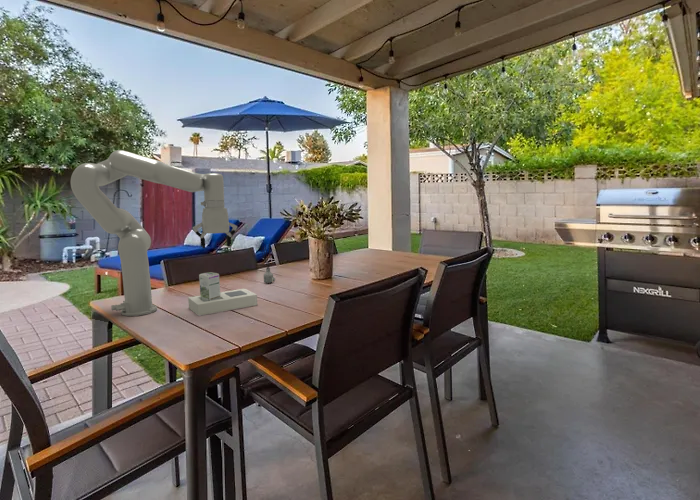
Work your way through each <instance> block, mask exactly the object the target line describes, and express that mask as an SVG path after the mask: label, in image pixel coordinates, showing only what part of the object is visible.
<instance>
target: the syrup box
mask: <svg viewBox="0 0 700 500" xmlns="http://www.w3.org/2000/svg"><path fill="white" fill-rule="evenodd" d="M198 277H199V278H198V281H199V292H200V295H201V300H202V301H203V302H206V301H212V300H218V299H221V296H220V292H221V286H220V285H221V284H220V274H219V273H217V272H211V271H210V272H209V271H208V272H203V273H200V274H198ZM200 295H199V296H200Z"/></svg>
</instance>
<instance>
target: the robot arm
mask: <svg viewBox="0 0 700 500" xmlns="http://www.w3.org/2000/svg"><path fill="white" fill-rule="evenodd" d="M127 176H129V177H134V178H137V179H140V180H144V181H147V182H151V183H153V184H154V183H155V184H160V185H164V186H167V187H171V188H175V189H178V190H181V191H185V192H190V193H197V192H203V195H204V197H203V199H204V200H203V201H201V202H200V205H201V206H203V208H202V214H201V222H200V223H198V224H196V225H194V226H192V230H193V232H194V233H195V235H197V236H198V237H199V238H200V247H202V248H203V249H206V238H205V236H206V235H207V234H211V235H212V234H226V247H228V248H230V247H231V245H232V237H233V235H234V234H235V233H236V231H237V229H238V225H237V224H234V223H232V222H229V221H230V220H229V212H228V208H227V207H225V190H224V189H225V187H224V186H225V183H224V176H223V174H221V173H213V172H211V173H210V172H209V173H197V172H194V171H190V170H187V169H183V168H180V167H177V166H173V165H170V164H167V163H165V162H163V161H160V160H157V159H154V158H151V157H147V156H144V155H141V154H137V153H134V152H131V151H127V150H123V149H118V150H114V151H113V152H111V153H110V155H109V156H108V158H107V159H105V160H103V161H100V162H98V163H93V162H87V163H86V162H85V163H82V164H79V165H78V166H77V167H76V168H75V169H74V170H73V172H72V174H71V177H70V187H71V190H72V194H73V196H75V198H76V200H77V201H78V202H79V203H80V204H81V206H82V207H83V208H85V210H87V212H88V213H89V214H90V216H91V217H92V218H93V219H94V220H95V221H96V223H97V224H99V226H100V227H101V228H102V229H103V230H104V231H105V232H106V233H107V234H111V235H116V236H117V237H118V238H119V241H118V245H117V248H118V255H119V259H120V267H121V274H122V285H123V295H124V296H123V298H124V300H123V301H122V302H121V303H119V304H112V305H111V306H110V307H111V311H120V314H121V315H122V316H125V317H136V316H137V317H138V316H145V315H149V314H153V313H154V312H156V311H157V310H158V306H157V305H155V304H153V298H152V297H153V296H152V295H153V294H152V287H151V286H152V284H151V283H152V282H151V274H150V264H149V257H148V250H149V249H150V248H151V245H152V238H151V236H150V234H149V233H148V232H147V231H146V230H145V228H144V227H143V225H141V224H140V223H139V221H138V220H137V219H136V218H135V217H134V216H133V215H132V214H131V212H129V211H128V210H126V209H125V208H120V207H117V206H116V205H115V204H114V203H113V201H111V200H110V198H109V196H107V194H105V193H104V192H103V191H102V189H100V187H104V186H107V185H109V184H111V183H114V182H116V181H118V180H120V179H122V178H123V179H124V177H127ZM230 227H232V229H231V230H230ZM199 228H201V230H202V232H199V230H198V229H199Z"/></svg>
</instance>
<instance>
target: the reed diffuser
mask: <svg viewBox="0 0 700 500" xmlns="http://www.w3.org/2000/svg"><path fill="white" fill-rule="evenodd" d="M268 244H269V247H268V251H267V250H265V249H267V247H266V246H267V245H266V244H264V246H261V245H259V249H260V251H261V253H262V256H263V257H262V258H263V260H264V262H265V265H266V268H265V270H266V271H265V273H263V282H264V283H273V282H274V281H276V277H275V276H274V274H273V272H271V268H270V263H268V262H269V260H271V259H270V253H271V252H270V251H271V250H270V249H271V244H270V243H268ZM261 247H262V248H263V249H262V248H261ZM263 250H265V251H263ZM263 253H264V254H263ZM266 255H268V257H267V256H266Z"/></svg>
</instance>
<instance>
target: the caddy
mask: <svg viewBox="0 0 700 500" xmlns="http://www.w3.org/2000/svg"><path fill="white" fill-rule="evenodd" d="M220 296H221V299H218V300H212V301H206V302H203V301H202V300H201V295H195V296H189V297H187V299H188V300H187V301H188V309H189V310H190V311H192V312H193V313H194V314H195V315H196V316H198V317H200V316H205V315H206V316H207V315H211V314H217V313H222V312H223V313H224V312H227V311H233V310H239V309H244V308H249V307H250V308H251V307H255V306H258V294H257V293H255V292H253V291H250V290H249V289H247V288H239V289H234V290H226V291H220Z"/></svg>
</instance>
